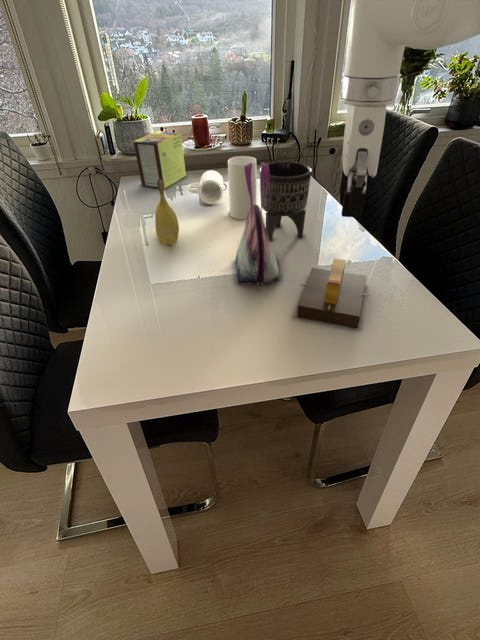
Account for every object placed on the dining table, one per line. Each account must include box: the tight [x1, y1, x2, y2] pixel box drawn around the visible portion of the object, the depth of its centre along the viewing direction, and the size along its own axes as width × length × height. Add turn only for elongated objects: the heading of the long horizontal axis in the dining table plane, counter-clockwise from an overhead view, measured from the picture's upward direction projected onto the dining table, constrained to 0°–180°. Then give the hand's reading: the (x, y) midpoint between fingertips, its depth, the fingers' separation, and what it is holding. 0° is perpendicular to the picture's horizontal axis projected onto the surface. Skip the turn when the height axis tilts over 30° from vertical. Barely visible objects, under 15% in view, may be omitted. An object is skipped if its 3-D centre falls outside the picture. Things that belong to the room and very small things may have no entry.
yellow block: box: [324, 258, 347, 304], centre depth 76 cm, size 10×2×5 cm, turn 161°
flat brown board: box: [296, 267, 370, 329], centre depth 79 cm, size 15×14×3 cm
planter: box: [259, 160, 312, 241], centre depth 99 cm, size 13×13×18 cm
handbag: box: [235, 161, 281, 291], centre depth 82 cm, size 21×10×25 cm, turn 3°
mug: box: [186, 169, 224, 206], centre depth 124 cm, size 12×10×8 cm
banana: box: [154, 179, 180, 245], centre depth 97 cm, size 23×6×20 cm, turn 15°
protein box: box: [132, 130, 187, 189], centre depth 137 cm, size 10×15×16 cm
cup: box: [227, 155, 258, 220], centre depth 111 cm, size 8×8×16 cm
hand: (349, 204), depth 65 cm, fingers open, 9 cm apart
